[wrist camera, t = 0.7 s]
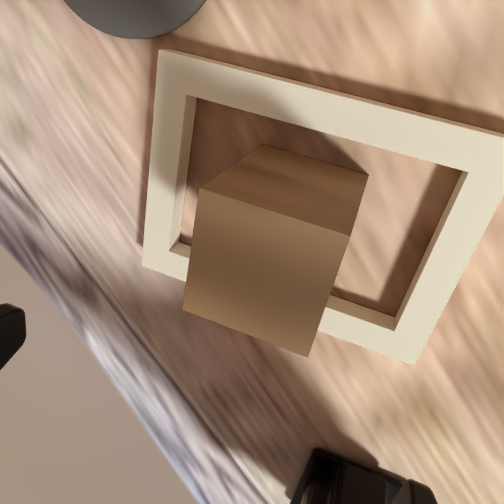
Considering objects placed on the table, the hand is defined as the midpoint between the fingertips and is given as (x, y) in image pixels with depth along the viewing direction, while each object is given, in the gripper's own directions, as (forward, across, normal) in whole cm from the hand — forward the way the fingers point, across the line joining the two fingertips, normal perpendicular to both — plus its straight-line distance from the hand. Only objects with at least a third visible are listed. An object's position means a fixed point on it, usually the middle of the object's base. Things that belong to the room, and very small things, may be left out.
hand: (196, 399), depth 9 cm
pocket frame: (+13, 0, 0) cm, 13 cm away
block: (+13, 0, 0) cm, 13 cm away
